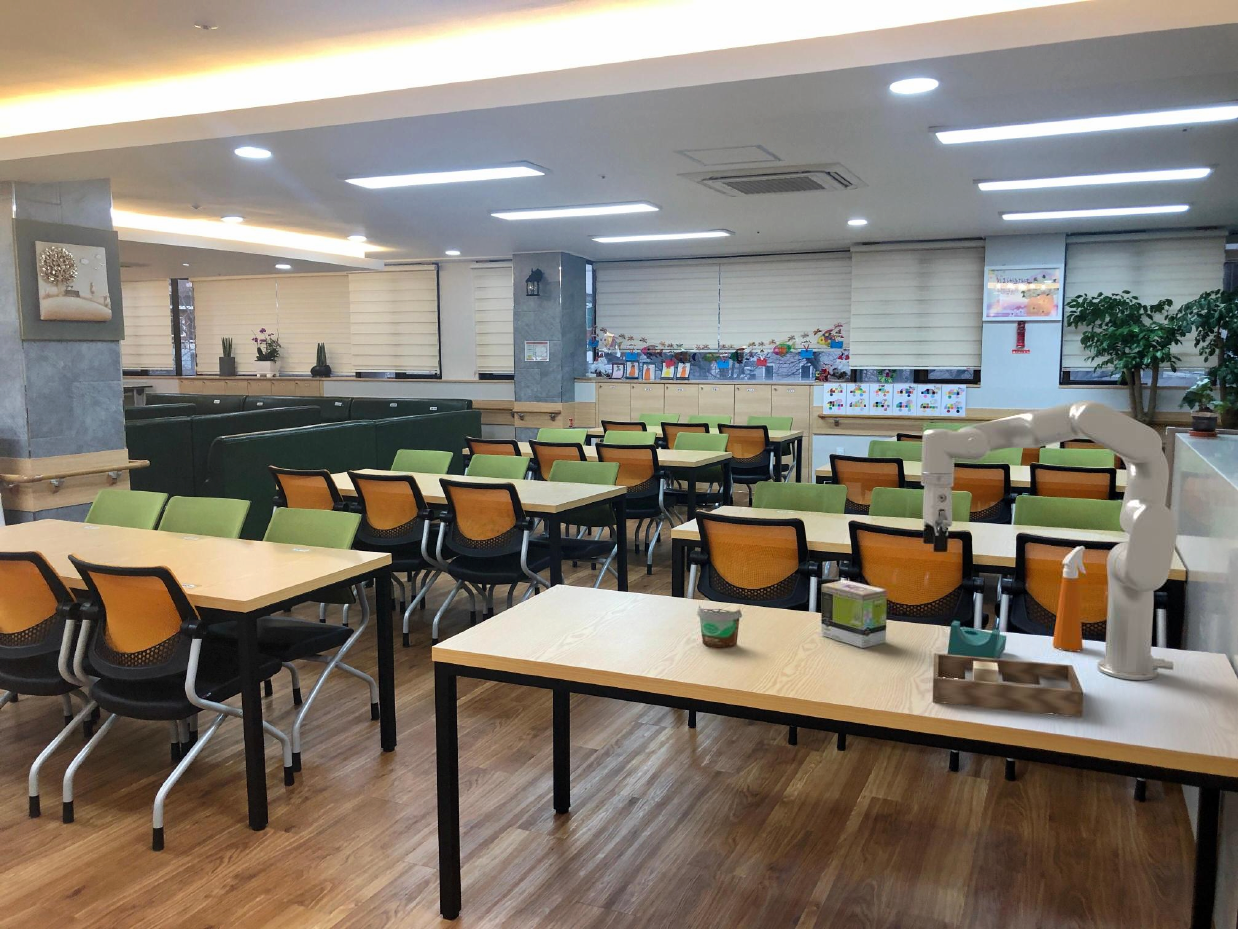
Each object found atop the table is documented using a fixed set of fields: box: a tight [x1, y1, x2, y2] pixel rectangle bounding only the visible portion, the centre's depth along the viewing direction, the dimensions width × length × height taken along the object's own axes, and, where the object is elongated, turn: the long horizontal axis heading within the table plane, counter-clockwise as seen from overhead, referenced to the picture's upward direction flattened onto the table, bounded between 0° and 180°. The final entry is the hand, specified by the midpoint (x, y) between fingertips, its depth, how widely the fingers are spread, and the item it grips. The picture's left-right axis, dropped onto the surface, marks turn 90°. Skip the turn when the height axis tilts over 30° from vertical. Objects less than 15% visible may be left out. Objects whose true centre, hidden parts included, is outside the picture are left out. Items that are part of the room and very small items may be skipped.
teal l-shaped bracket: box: [946, 620, 1007, 659], centre depth 231 cm, size 18×11×10 cm, turn 149°
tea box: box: [820, 579, 888, 649], centre depth 249 cm, size 15×10×15 cm, turn 34°
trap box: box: [932, 652, 1084, 718], centre depth 207 cm, size 30×18×6 cm, turn 71°
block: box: [973, 661, 998, 683], centre depth 205 cm, size 5×5×5 cm
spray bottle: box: [1052, 545, 1087, 652], centre depth 239 cm, size 7×11×26 cm, turn 125°
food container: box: [696, 605, 743, 650], centre depth 245 cm, size 12×6×10 cm, turn 68°
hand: (934, 547), depth 227 cm, fingers open, 9 cm apart
